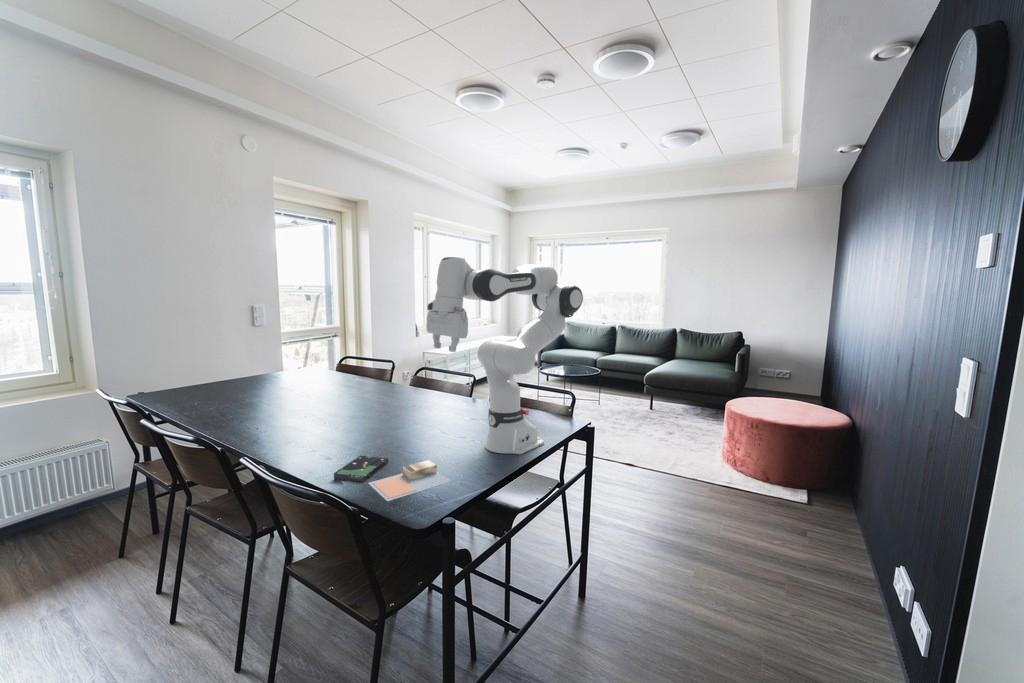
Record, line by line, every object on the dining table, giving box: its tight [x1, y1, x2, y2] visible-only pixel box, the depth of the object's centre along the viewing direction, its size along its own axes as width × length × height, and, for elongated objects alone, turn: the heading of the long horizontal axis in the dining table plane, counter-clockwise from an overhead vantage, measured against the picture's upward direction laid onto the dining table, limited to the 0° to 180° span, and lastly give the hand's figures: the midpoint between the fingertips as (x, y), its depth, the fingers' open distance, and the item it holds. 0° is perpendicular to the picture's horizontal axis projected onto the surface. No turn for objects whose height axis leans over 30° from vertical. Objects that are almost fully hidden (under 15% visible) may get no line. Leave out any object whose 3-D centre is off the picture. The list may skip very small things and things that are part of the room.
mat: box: [367, 471, 452, 502], centre depth 126 cm, size 20×14×1 cm
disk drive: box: [333, 455, 389, 483], centre depth 134 cm, size 10×3×15 cm
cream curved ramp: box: [402, 459, 438, 480], centre depth 132 cm, size 9×5×3 cm, turn 129°
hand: (444, 349), depth 137 cm, fingers open, 8 cm apart
